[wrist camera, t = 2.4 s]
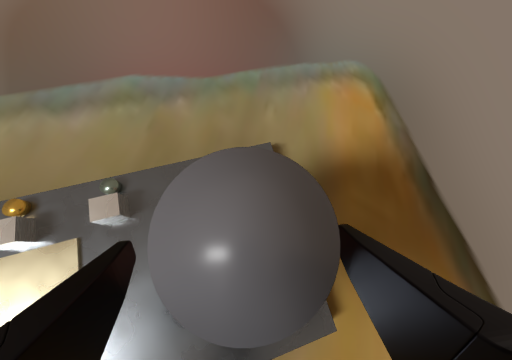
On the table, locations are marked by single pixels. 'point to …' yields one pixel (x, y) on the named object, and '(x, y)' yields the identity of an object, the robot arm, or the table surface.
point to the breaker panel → (99, 240)
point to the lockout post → (243, 247)
